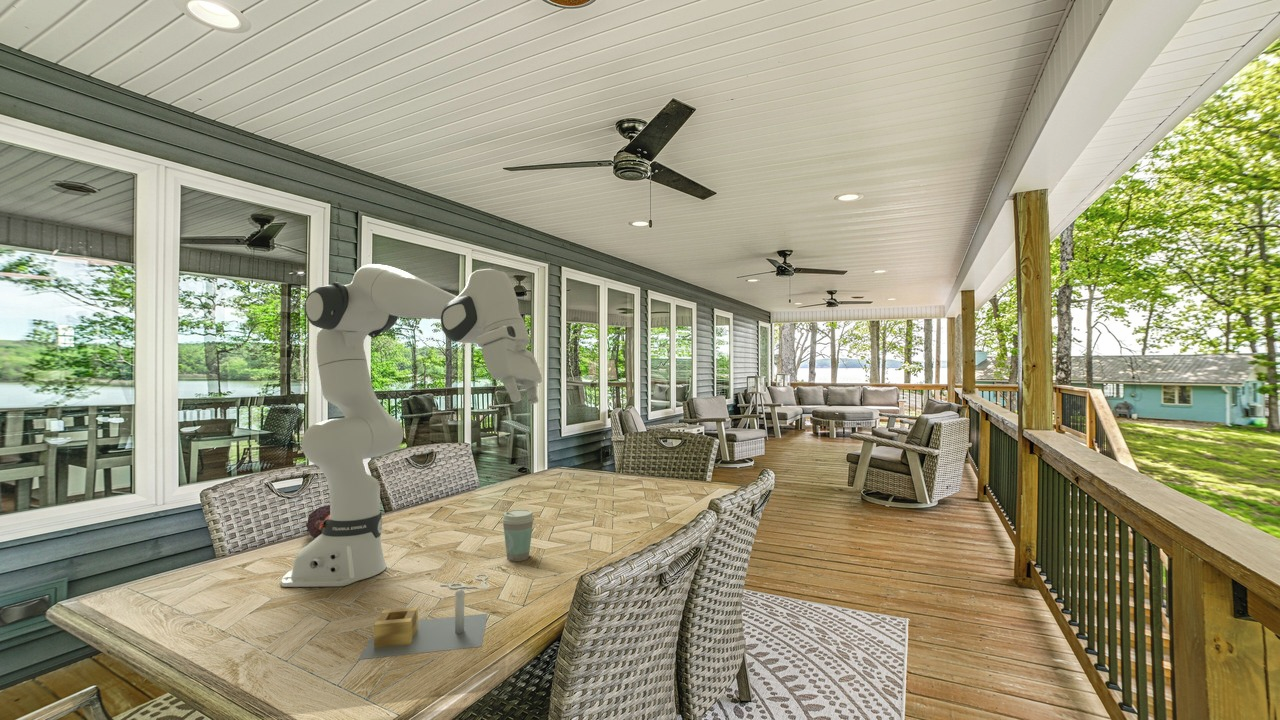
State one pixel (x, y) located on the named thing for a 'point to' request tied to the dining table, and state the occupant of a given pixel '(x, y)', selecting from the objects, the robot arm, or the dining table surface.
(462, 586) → the scissors
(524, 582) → the dining table surface
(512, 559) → the coffee cup
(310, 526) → the pine cone
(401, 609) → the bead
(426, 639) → the grey peg stand
